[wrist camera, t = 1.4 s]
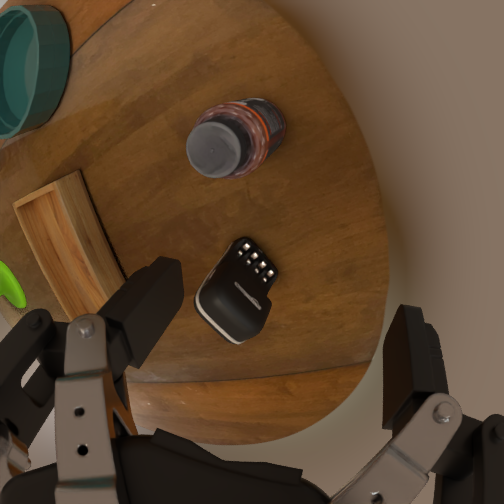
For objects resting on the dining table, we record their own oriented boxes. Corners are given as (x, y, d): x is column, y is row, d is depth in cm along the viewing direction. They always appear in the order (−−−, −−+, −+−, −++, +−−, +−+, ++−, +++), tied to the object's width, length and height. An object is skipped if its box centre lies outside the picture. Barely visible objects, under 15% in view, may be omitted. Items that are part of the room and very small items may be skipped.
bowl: (16, 7, 25) (-11, 9, 20) (89, 6, 24) (55, 3, 19) (-2, 113, 36) (-27, 122, 31) (59, 143, 36) (28, 155, 31)
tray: (33, 191, 42) (9, 205, 38) (81, 167, 37) (53, 182, 32) (103, 330, 56) (88, 349, 51) (159, 336, 51) (143, 359, 46)
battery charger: (288, 271, 36) (265, 341, 27) (264, 285, 38) (236, 353, 29) (249, 227, 35) (211, 288, 25) (227, 243, 37) (184, 304, 27)
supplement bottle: (246, 86, 27) (195, 90, 17) (298, 118, 27) (274, 136, 18) (218, 135, 30) (161, 163, 21) (267, 165, 31) (229, 207, 21)
